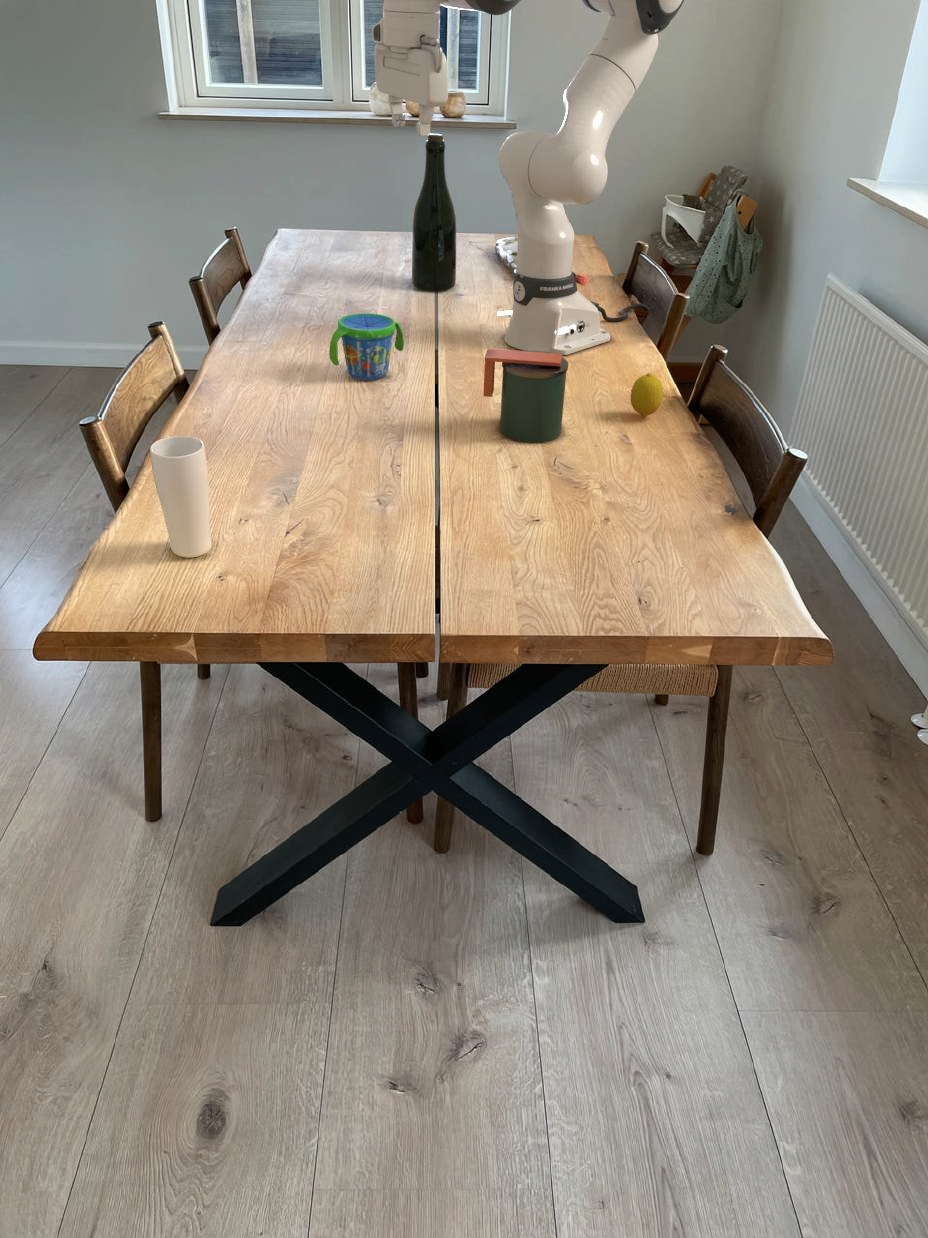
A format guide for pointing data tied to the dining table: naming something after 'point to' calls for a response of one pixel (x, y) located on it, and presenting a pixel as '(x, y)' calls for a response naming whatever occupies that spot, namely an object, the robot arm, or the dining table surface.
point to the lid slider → (514, 357)
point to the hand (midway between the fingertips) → (410, 130)
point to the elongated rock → (508, 252)
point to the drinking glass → (183, 493)
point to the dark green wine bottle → (434, 225)
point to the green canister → (532, 401)
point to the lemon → (646, 395)
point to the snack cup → (366, 344)
